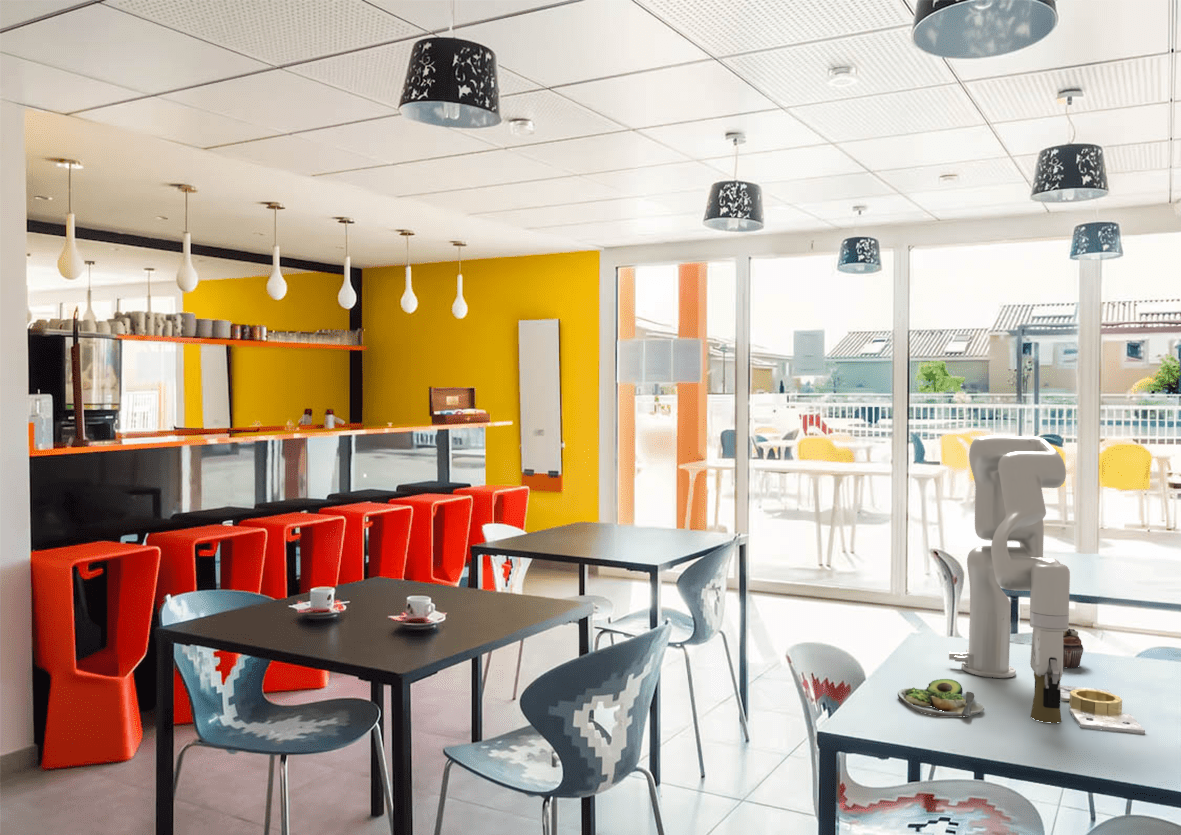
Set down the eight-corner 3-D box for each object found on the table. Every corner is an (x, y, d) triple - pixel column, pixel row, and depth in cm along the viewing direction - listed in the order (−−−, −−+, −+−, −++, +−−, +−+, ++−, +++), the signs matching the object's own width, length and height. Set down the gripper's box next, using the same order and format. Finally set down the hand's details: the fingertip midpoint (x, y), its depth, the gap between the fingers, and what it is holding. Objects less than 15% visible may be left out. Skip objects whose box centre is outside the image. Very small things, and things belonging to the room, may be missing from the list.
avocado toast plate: (1005, 723, 204) (1005, 702, 204) (921, 722, 204) (922, 701, 204) (966, 696, 224) (967, 676, 224) (890, 695, 223) (890, 675, 223)
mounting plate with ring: (1080, 727, 202) (1081, 713, 202) (1052, 687, 231) (1052, 675, 231) (1145, 734, 199) (1145, 719, 199) (1107, 693, 228) (1108, 680, 228)
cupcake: (1091, 668, 249) (1093, 629, 249) (1058, 669, 247) (1060, 630, 247) (1066, 658, 259) (1067, 621, 259) (1034, 660, 257) (1035, 622, 257)
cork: (1059, 725, 203) (1061, 673, 203) (1028, 719, 206) (1030, 668, 206) (1063, 718, 208) (1064, 667, 208) (1032, 712, 211) (1034, 662, 211)
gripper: (1023, 612, 216) (1021, 688, 216) (1037, 628, 200) (1035, 711, 200) (1059, 614, 214) (1057, 691, 214) (1077, 631, 198) (1075, 714, 198)
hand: (1046, 701), depth 207 cm, fingers open, 9 cm apart
